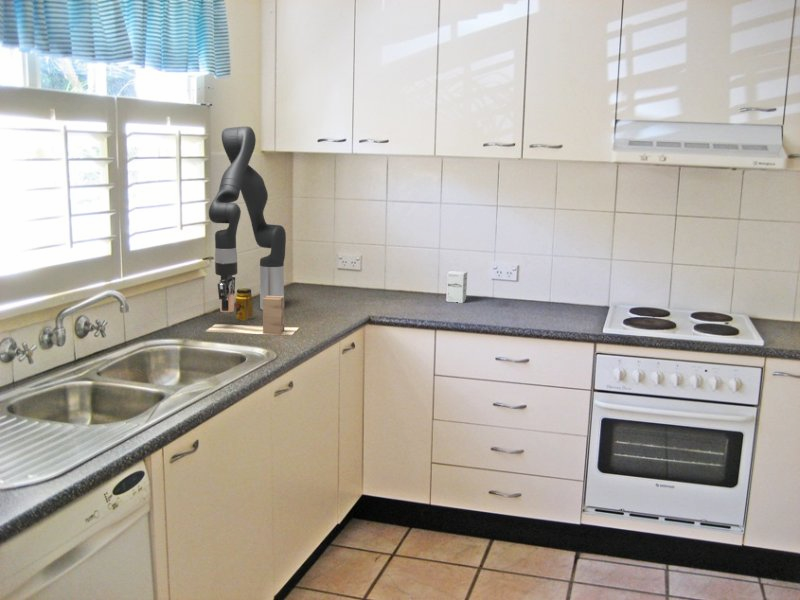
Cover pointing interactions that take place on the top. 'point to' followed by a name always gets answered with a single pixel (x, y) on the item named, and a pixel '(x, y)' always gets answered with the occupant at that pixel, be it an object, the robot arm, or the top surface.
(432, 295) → the top surface
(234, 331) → the birch board
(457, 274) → the supplement box
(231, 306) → the terracotta capsule
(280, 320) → the walnut block bottom
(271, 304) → the walnut block top
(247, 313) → the condiment
